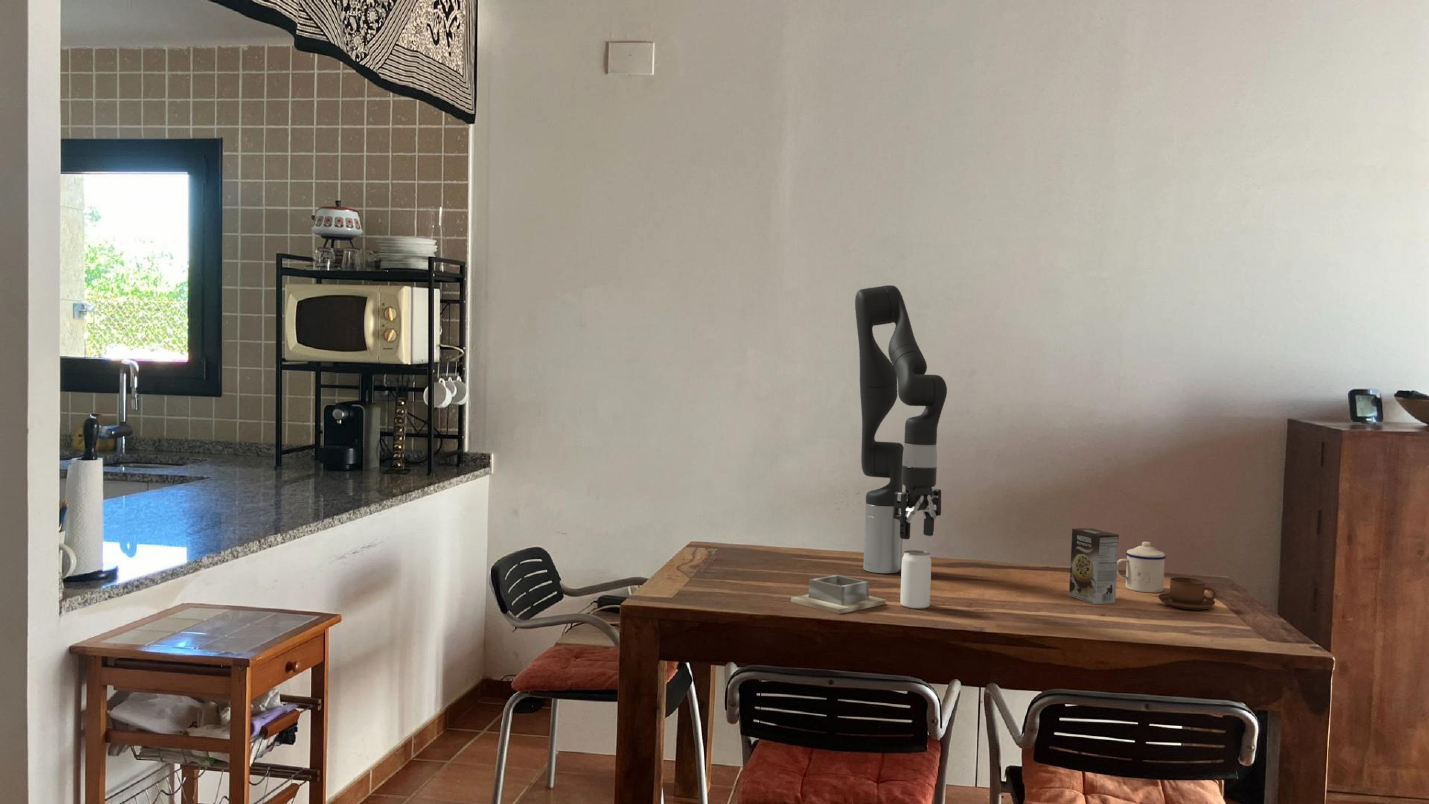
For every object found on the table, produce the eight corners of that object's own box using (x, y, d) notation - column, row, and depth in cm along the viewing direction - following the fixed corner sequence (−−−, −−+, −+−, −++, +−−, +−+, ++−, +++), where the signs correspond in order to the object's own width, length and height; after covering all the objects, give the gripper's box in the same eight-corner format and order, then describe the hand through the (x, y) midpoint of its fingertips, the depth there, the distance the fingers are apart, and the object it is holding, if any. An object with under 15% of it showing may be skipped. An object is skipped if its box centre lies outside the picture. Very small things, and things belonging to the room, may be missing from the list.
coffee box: (1067, 596, 264) (1070, 528, 263) (1088, 594, 266) (1092, 527, 265) (1094, 604, 255) (1098, 534, 254) (1116, 603, 258) (1120, 533, 257)
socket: (837, 592, 260) (838, 571, 259) (885, 604, 249) (886, 581, 249) (790, 602, 249) (791, 579, 248) (839, 614, 238) (839, 590, 238)
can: (929, 610, 245) (931, 555, 244) (899, 608, 246) (901, 554, 245) (929, 603, 251) (931, 550, 251) (900, 601, 252) (902, 549, 252)
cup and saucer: (1208, 603, 261) (1210, 577, 261) (1219, 615, 249) (1221, 587, 249) (1154, 599, 264) (1155, 573, 263) (1162, 610, 252) (1164, 583, 252)
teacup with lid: (1155, 586, 279) (1158, 539, 278) (1169, 593, 270) (1172, 546, 269) (1107, 584, 279) (1109, 538, 278) (1120, 592, 270) (1122, 544, 269)
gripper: (925, 461, 255) (922, 532, 255) (885, 464, 245) (883, 537, 246) (952, 464, 249) (949, 536, 250) (913, 467, 240) (910, 542, 240)
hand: (916, 537), depth 248 cm, fingers open, 8 cm apart
